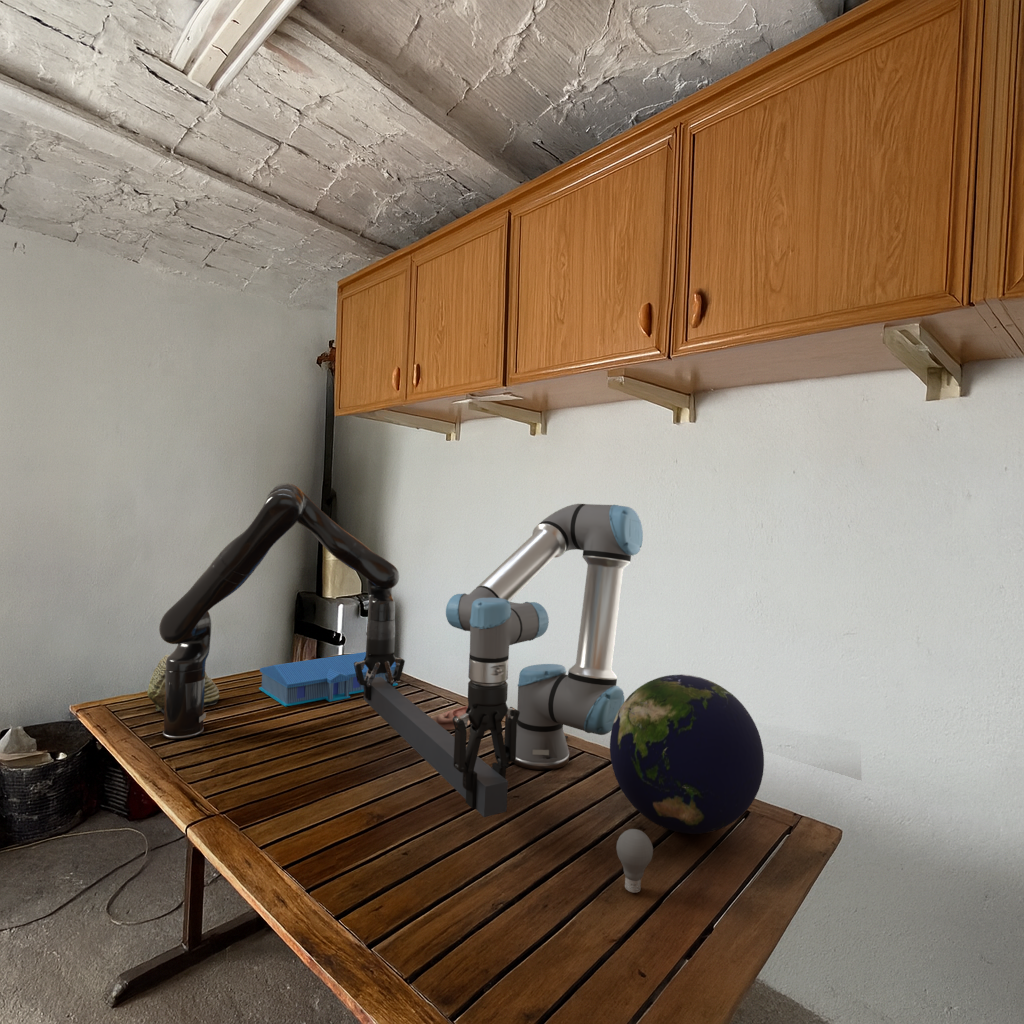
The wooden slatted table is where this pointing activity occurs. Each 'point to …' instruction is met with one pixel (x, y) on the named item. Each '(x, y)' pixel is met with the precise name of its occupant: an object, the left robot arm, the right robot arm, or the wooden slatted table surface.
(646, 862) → the light bulb
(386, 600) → the left robot arm
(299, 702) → the model building
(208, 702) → the fossil
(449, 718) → the anatomical model
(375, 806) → the wooden slatted table surface
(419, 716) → the bar
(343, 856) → the wooden slatted table surface
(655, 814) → the globe
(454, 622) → the right robot arm
